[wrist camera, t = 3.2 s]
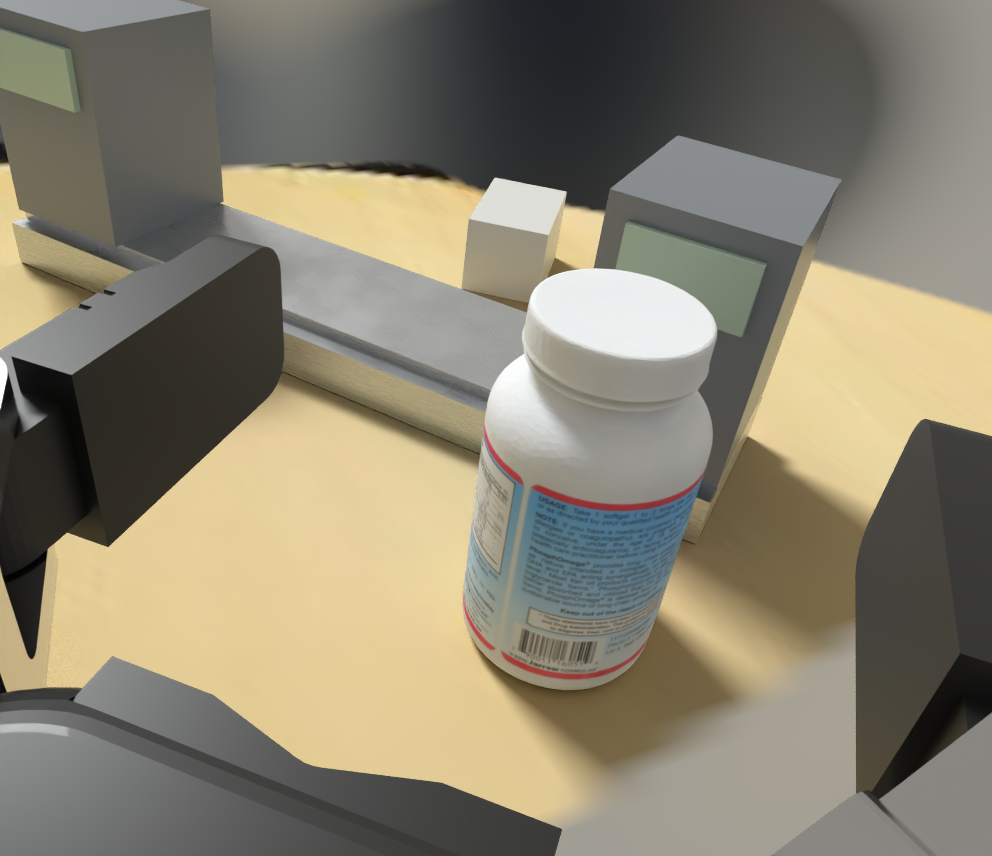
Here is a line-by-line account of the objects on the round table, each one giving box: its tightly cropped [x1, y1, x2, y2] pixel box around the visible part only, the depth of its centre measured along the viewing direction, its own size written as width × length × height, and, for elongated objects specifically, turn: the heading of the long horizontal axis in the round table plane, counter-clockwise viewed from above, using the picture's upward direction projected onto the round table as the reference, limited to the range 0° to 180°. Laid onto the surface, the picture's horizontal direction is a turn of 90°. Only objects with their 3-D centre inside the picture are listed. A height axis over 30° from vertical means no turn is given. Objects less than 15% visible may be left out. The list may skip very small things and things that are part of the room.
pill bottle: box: [462, 268, 717, 690], centre depth 24 cm, size 6×6×11 cm
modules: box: [0, 0, 841, 484], centre depth 35 cm, size 7×34×9 cm, turn 63°
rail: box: [12, 203, 762, 544], centre depth 39 cm, size 8×34×2 cm, turn 63°
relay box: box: [462, 178, 566, 303], centre depth 46 cm, size 6×4×4 cm, turn 168°
